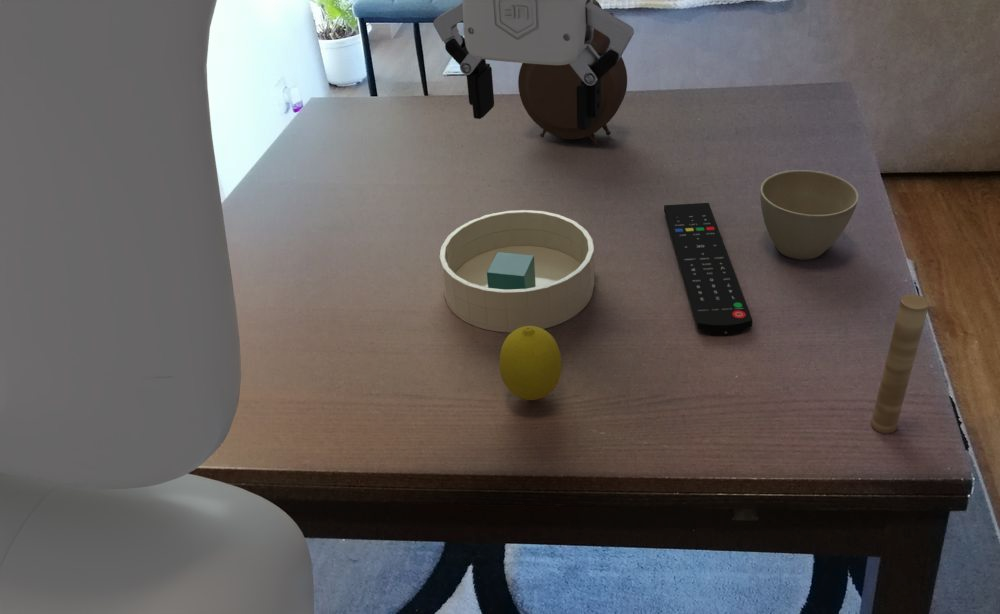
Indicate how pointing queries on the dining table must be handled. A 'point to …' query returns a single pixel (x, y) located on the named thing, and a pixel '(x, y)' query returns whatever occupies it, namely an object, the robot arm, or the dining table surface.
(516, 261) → the block
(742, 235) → the dining table surface
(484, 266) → the bowl
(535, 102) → the alarm clock
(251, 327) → the dining table surface
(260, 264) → the dining table surface
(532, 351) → the lemon
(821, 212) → the flower pot
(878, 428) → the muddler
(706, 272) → the remote control
